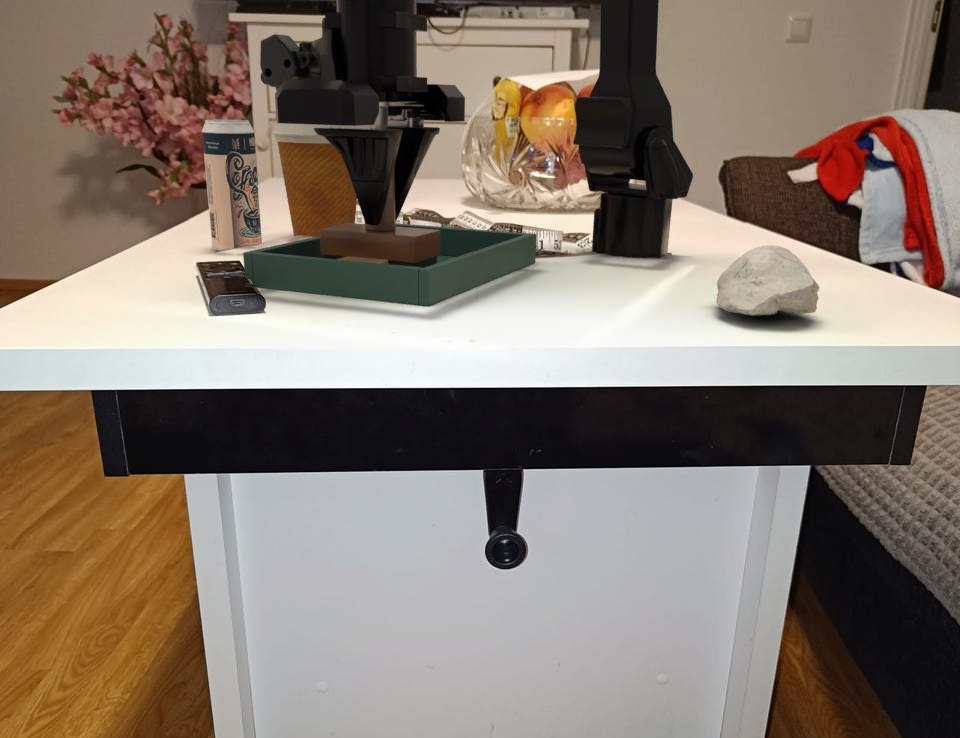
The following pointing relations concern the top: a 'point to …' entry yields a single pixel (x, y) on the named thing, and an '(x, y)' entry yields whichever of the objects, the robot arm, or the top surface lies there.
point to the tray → (394, 268)
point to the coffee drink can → (232, 184)
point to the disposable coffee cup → (314, 180)
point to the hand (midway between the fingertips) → (381, 222)
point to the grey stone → (767, 284)
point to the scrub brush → (382, 239)
